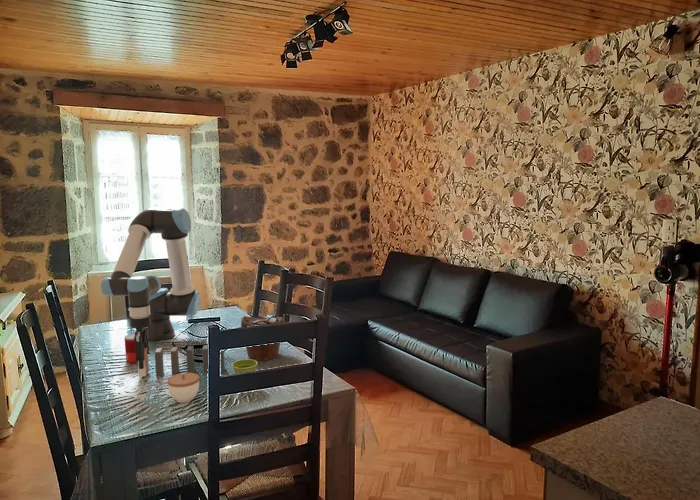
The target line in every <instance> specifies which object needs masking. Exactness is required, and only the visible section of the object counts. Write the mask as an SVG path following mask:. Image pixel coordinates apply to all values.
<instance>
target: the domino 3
mask: <svg viewBox="0 0 700 500" xmlns="http://www.w3.org/2000/svg"><path fill="white" fill-rule="evenodd" d="M179 360H180V359H179V347H178V346H175V347H172V348H171V350H170V361H171V363H170V364H171V376H173V375H176V374H180V373H179V372H180V363H179V362H180V361H179Z"/></svg>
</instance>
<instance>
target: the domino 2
mask: <svg viewBox="0 0 700 500" xmlns="http://www.w3.org/2000/svg"><path fill="white" fill-rule="evenodd" d="M154 351H155V352H154V362H155V364H154V365H155V377H156V378H158V377H162V376H163V374H164V373H165V371H164V370H165V369H164V354H163V347H158V348H156V349H155V350H154Z"/></svg>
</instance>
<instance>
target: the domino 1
mask: <svg viewBox="0 0 700 500" xmlns="http://www.w3.org/2000/svg"><path fill="white" fill-rule="evenodd" d="M147 355H148V354H147V348H144V358H145V363H146V376H147V375H148V373H149V372H150V369H149V370H148V358H149V356H148V357H147Z"/></svg>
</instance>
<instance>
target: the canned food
mask: <svg viewBox="0 0 700 500" xmlns="http://www.w3.org/2000/svg"><path fill="white" fill-rule="evenodd" d="M134 336H135V333H130V334H127V335H125V336H124V346H125V347H124V348H125V358H126V359H125V360H126V363H128V364H130V365H131V364H132V365H133V364H134V365H136V364H138V361H135V360H136V352H135V341H134Z"/></svg>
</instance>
